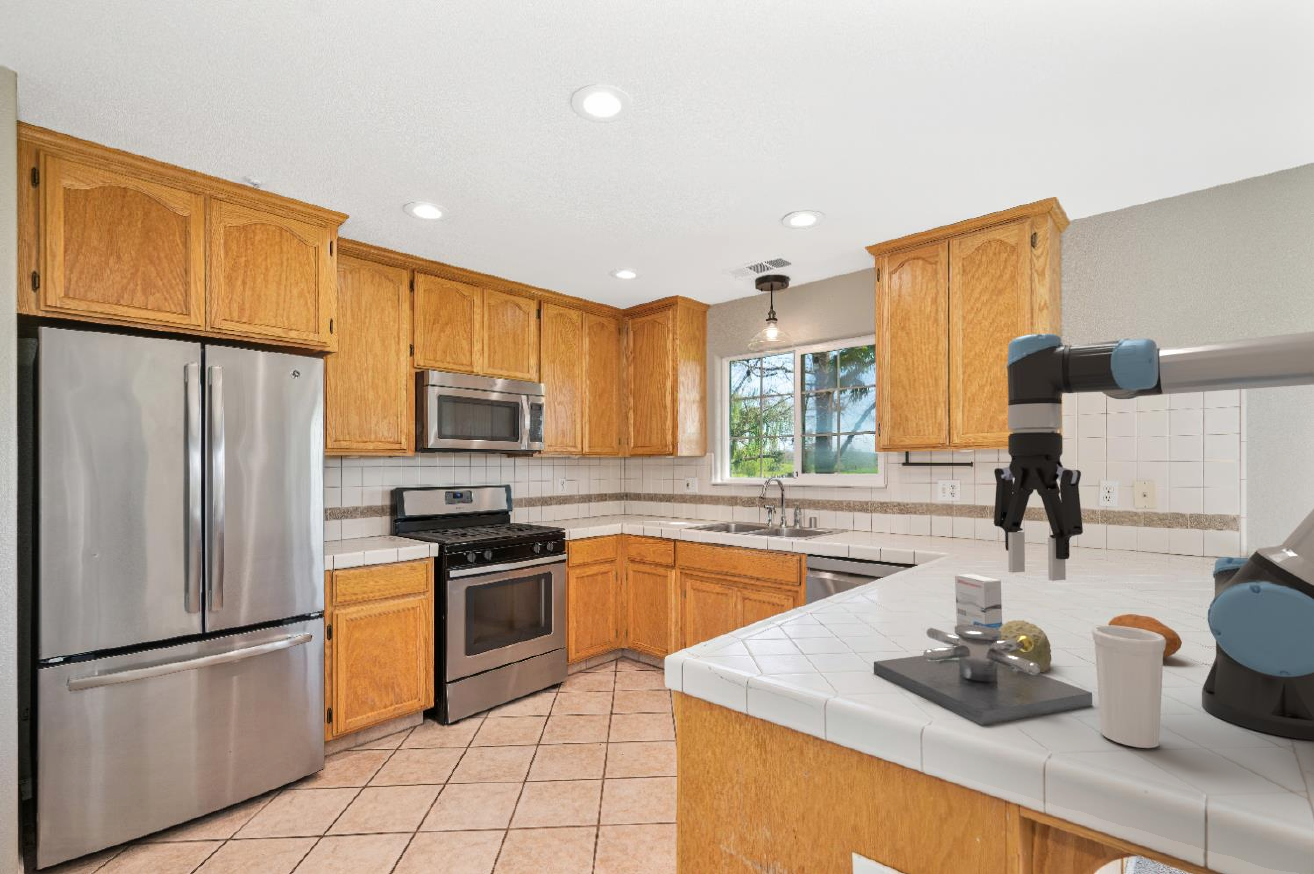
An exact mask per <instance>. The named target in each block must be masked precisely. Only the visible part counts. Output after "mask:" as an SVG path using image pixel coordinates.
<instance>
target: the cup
mask: <svg viewBox="0 0 1314 874" xmlns="http://www.w3.org/2000/svg"><path fill="white" fill-rule="evenodd" d="M1091 633H1092V639H1093V641H1094V653H1095V665H1096V677H1097V679H1096V681H1097V695H1098V707H1099V709H1098V710H1099V720H1100V721H1099V722H1100V732H1101V734H1102V735H1103V736H1104V737H1106V738H1107V739H1109V740H1111V741H1113V742H1116V743H1119V744H1122V745H1125V746H1130V747H1135V748H1143V749H1151V748H1157V747H1158V746H1159V745H1160V733H1161V732H1160V731H1161V711H1162V710H1161V708H1162V690H1163V689H1162V687H1163V684H1162V683H1163V668H1164V667H1163V666H1164V664H1163V663H1164V658H1163V652H1164V650H1165V646H1166V640H1165V638H1164V637H1163V636H1162V635H1160V634H1157V633H1155V632H1151V631H1147V630H1143V629H1138V628H1132V627H1125V626H1113V625H1108V624H1107V625H1106V624H1105V625H1104V624H1103V625H1096V626H1093V627H1092V628H1091Z"/></svg>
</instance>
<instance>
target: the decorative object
mask: <svg viewBox="0 0 1314 874" xmlns="http://www.w3.org/2000/svg"><path fill="white" fill-rule="evenodd" d="M999 631H1001V639H1000V640H997V641H1001V640H1009V639H1016V637H1017V636H1019V635H1027V636H1029V637H1030V638H1031V639H1032V640H1033V643H1034V647H1033V649H1032V650H1031V651H1029V652H1022V651H1020V650H1014V651H1006V652H1005V653H1008V654H1011V655H1014V656H1017V657H1020V658H1022V659H1025V660H1028V661H1031V662H1034V663H1036V664H1038V665H1039V667H1040V672H1039V674H1040V673H1045V672H1047V671H1049V669H1050V667H1051V666H1050V665H1051V662H1052V654H1051V653H1052V649H1051V644H1050V641H1049V639H1048V636H1047V634H1046V633H1045V632H1044V631H1043V630H1042V629H1041V628H1040V627H1038V626H1037V624H1035V623H1030V622H1029V621H1025V620H1012V621H1007V622H1006V623H1002V626H1001V627H1000V628H999Z"/></svg>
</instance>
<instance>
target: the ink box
mask: <svg viewBox="0 0 1314 874" xmlns="http://www.w3.org/2000/svg"><path fill="white" fill-rule="evenodd" d="M954 576H955V577H954V578H955V579H954V580H955V581H954V583H955V585H954V587H955V608H956V609H955V610H956V611H955V612H956V626H958V625H980V626H986V627H991V628H994V629H997V630H999V628H1000V627H1001V626H1002V624H1003V607H1002V603H1003V602H1002V601H1003V600H1002V581H1001V579H996V578H992V577H987V576H982V575H979V574H974V573H965V574H963V573H962V574H956V575H954Z"/></svg>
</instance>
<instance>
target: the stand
mask: <svg viewBox="0 0 1314 874" xmlns="http://www.w3.org/2000/svg"><path fill="white" fill-rule="evenodd" d="M997 668H998V679H997V680H995V681H978V680H972V679H969V678H966V677H963V676H962V675H960V674H959V658H953V659H945V660H938V661H927V660H926V659H925V658H924V656H923V654H922V655H915V656H908V657H901V658H892V659H885V660H876V661H873V674H874V675H877V676H879V677H880V678H883V679H885V680H888V681H889V682H891V683H893V684H896V685H897V686H899V687H901V688H904V689H906V690H908V691H910V692H912V693H913V694H916V695H918V696H920V697H922V698H924V699H926V700H928V701H930V702H932V703H934V704H936V705H938V706H941V707H942V708H944V709H947V710H949V711H951V712H953V713H955V714H957V715H959V714H960V715H959V716H961V717H963V718H965V717H966V718H965V719H967V720H970V721H971V722H973V721H974V722H973V723H975V722H976V723H975V724H977V725H980V726H982V727H983V726H990V725H995V724H994V723H996V724H1001V723H1007V722H1012V721H1016V720H1023V719H1027V718H1033V717H1039V716H1044V715H1045V716H1046V715H1049V714H1055V713H1056V714H1057V713H1060V712H1066V711H1073V710H1076V709H1081V708H1088V707H1093V692H1092V691H1089V690H1086V689H1083V688H1080V687H1078V686H1074V685H1071V684H1069V683H1066V682H1063V681H1061V680H1059V679H1058V680H1057V679H1055V678H1052V677H1050V676H1046V675H1043V674H1040V673H1039V674H1037V675H1031V674H1029V673H1026V672H1023V671H1020V670H1018V669H1015V668H1012V667H1009V666H1007V665H1004V664H1001V663H998V662H997ZM1006 721H1007V722H1006ZM1000 722H1001V723H1000Z"/></svg>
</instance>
